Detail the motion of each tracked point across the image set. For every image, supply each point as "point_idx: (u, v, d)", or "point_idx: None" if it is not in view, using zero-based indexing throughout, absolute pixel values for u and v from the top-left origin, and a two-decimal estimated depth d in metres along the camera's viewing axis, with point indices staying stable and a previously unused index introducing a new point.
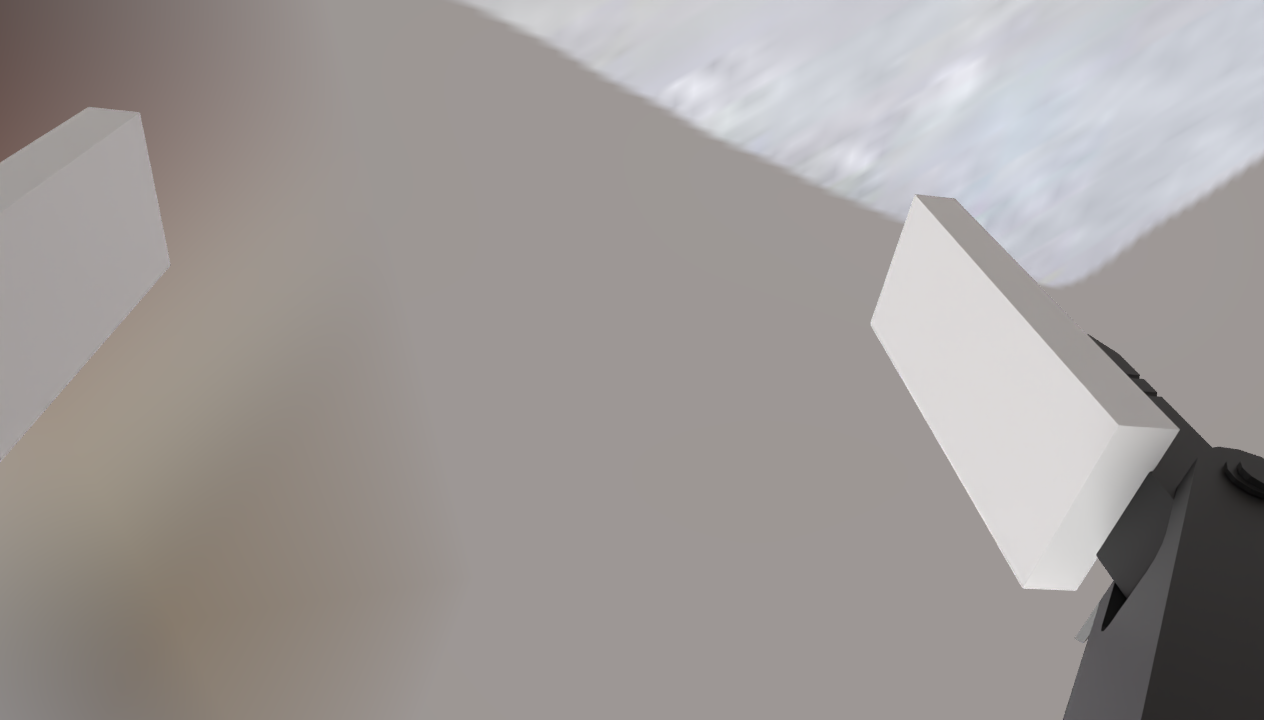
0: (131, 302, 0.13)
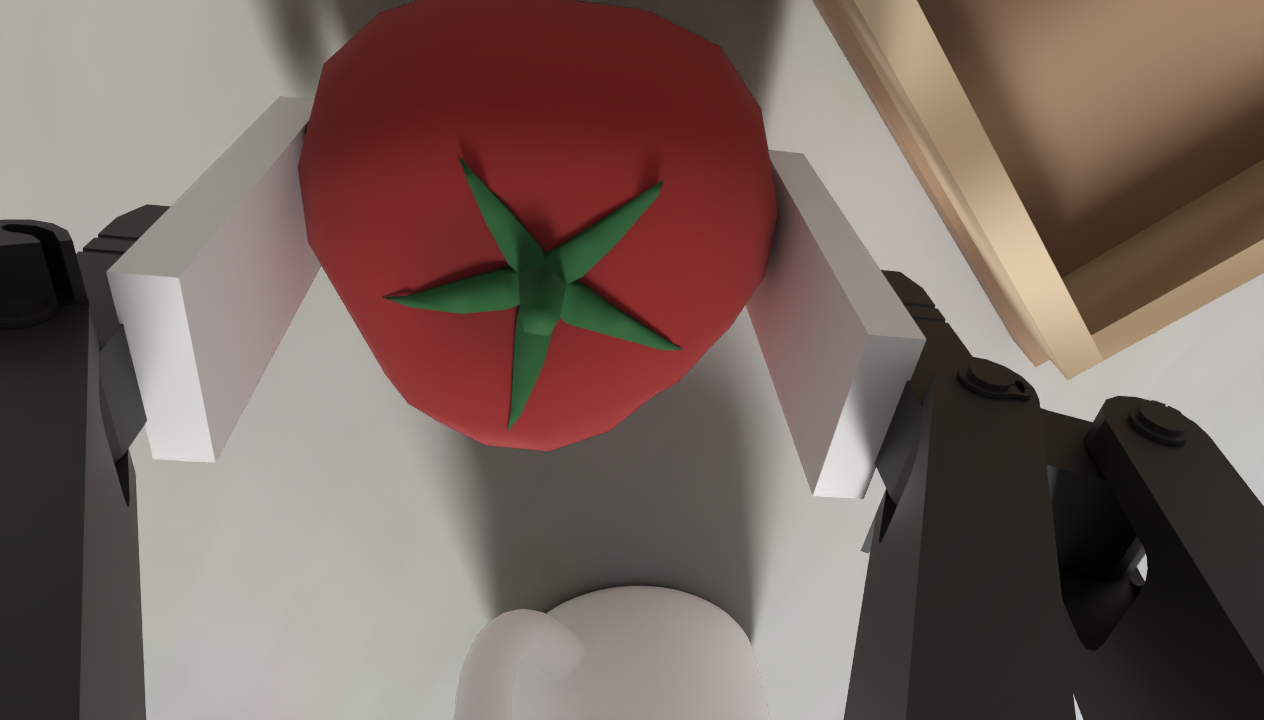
0: (314, 270, 0.15)
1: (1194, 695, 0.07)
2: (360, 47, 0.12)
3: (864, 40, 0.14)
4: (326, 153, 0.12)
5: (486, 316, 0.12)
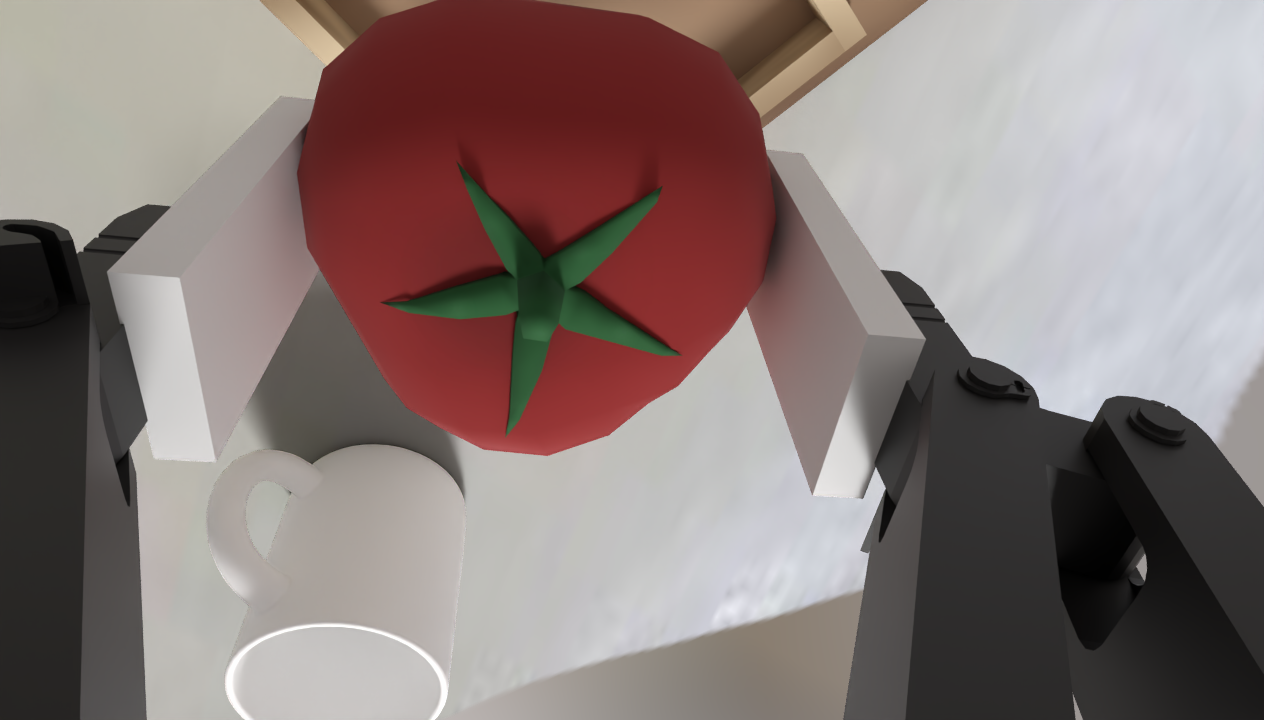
0: (315, 270, 0.15)
1: (1193, 695, 0.07)
2: (359, 53, 0.12)
3: None
4: (325, 159, 0.12)
5: (485, 322, 0.12)
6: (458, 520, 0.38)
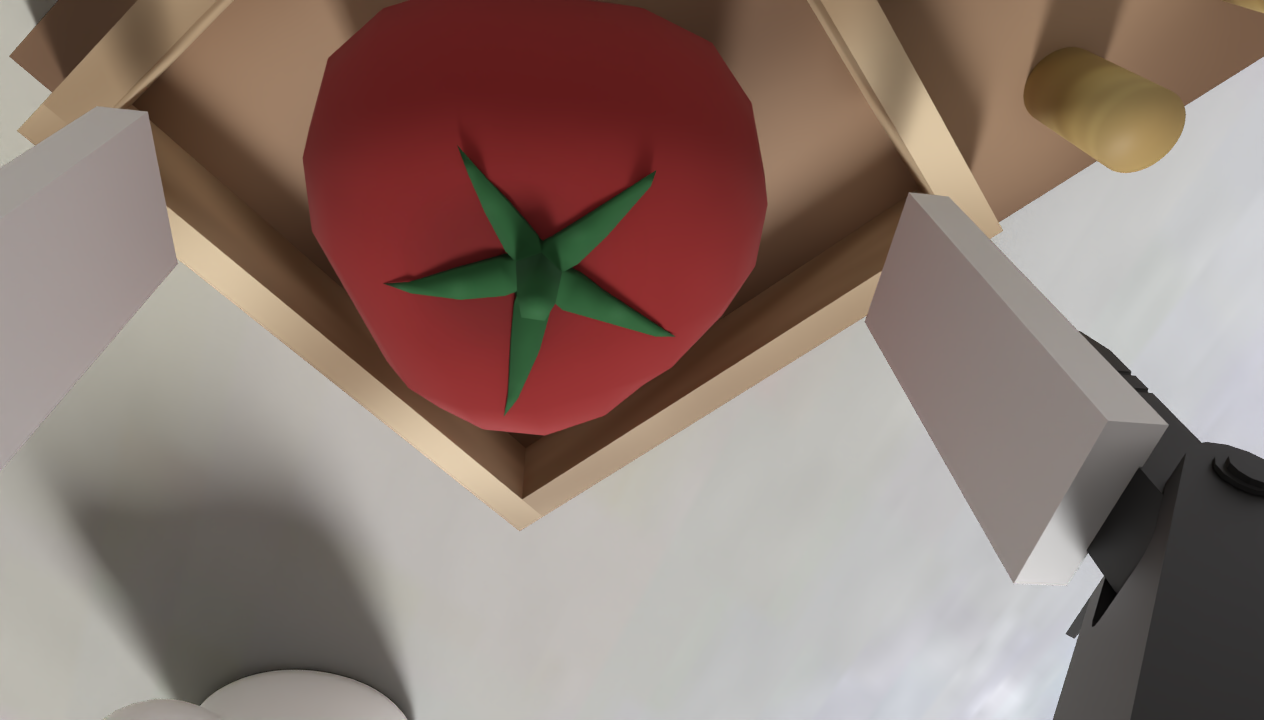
0: (139, 300, 0.13)
1: None
2: (363, 42, 0.12)
3: None
4: (330, 144, 0.12)
5: (484, 303, 0.13)
6: None
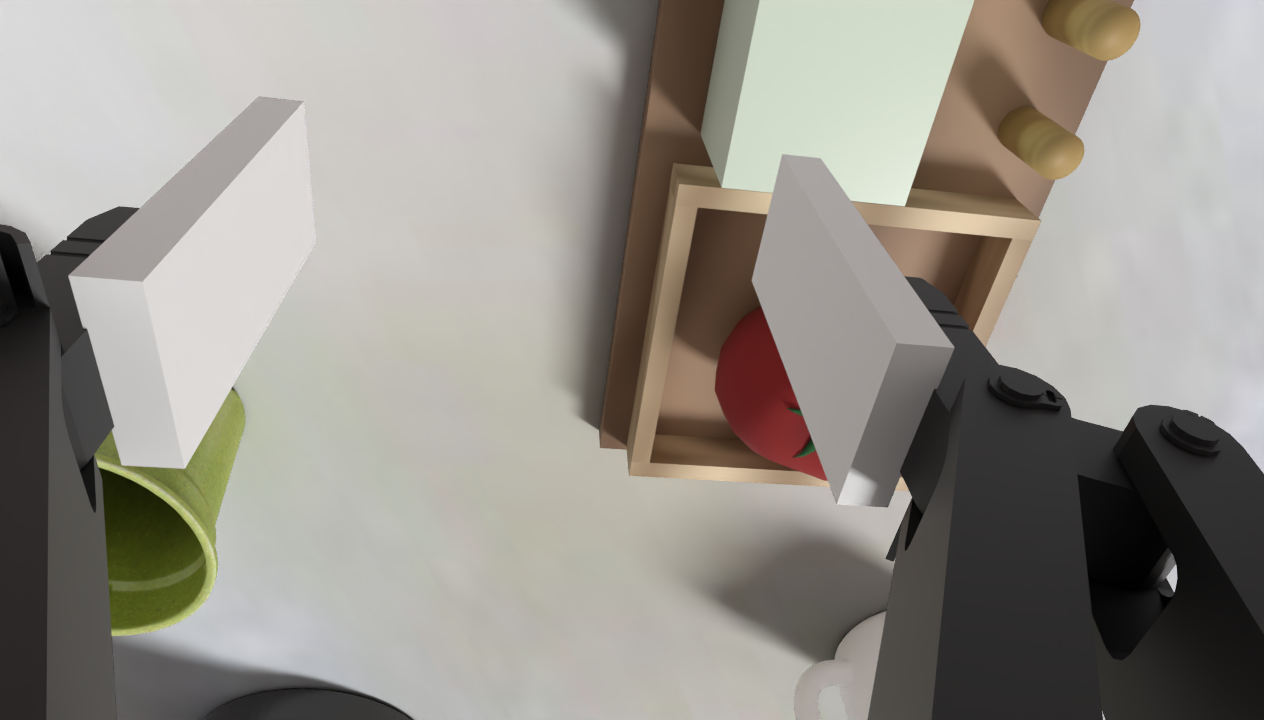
0: (294, 273, 0.14)
1: (1223, 706, 0.07)
2: (726, 384, 0.31)
3: None
4: (742, 426, 0.31)
5: None
6: None
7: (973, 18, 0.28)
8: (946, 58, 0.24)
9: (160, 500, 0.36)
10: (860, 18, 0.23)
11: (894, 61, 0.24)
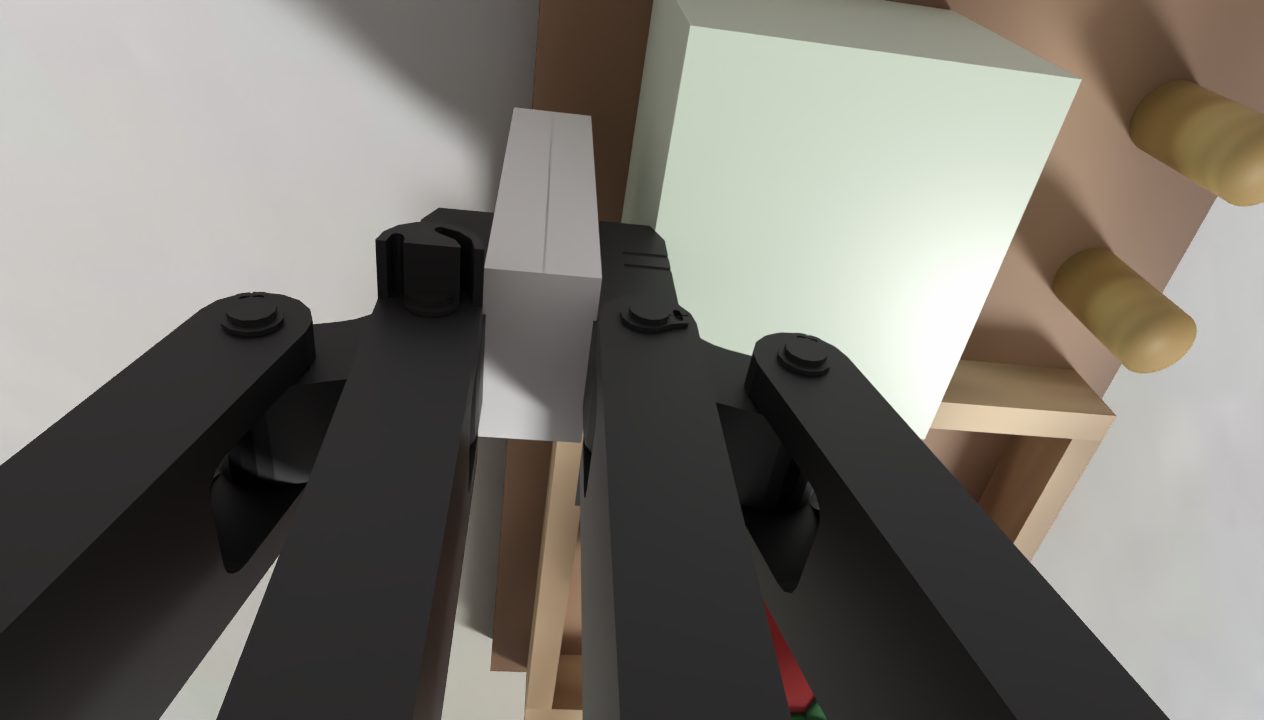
0: None
1: (878, 624, 0.07)
2: None
3: None
4: None
5: None
6: None
7: None
8: (1003, 225, 0.14)
9: None
10: (855, 163, 0.13)
11: (913, 230, 0.13)
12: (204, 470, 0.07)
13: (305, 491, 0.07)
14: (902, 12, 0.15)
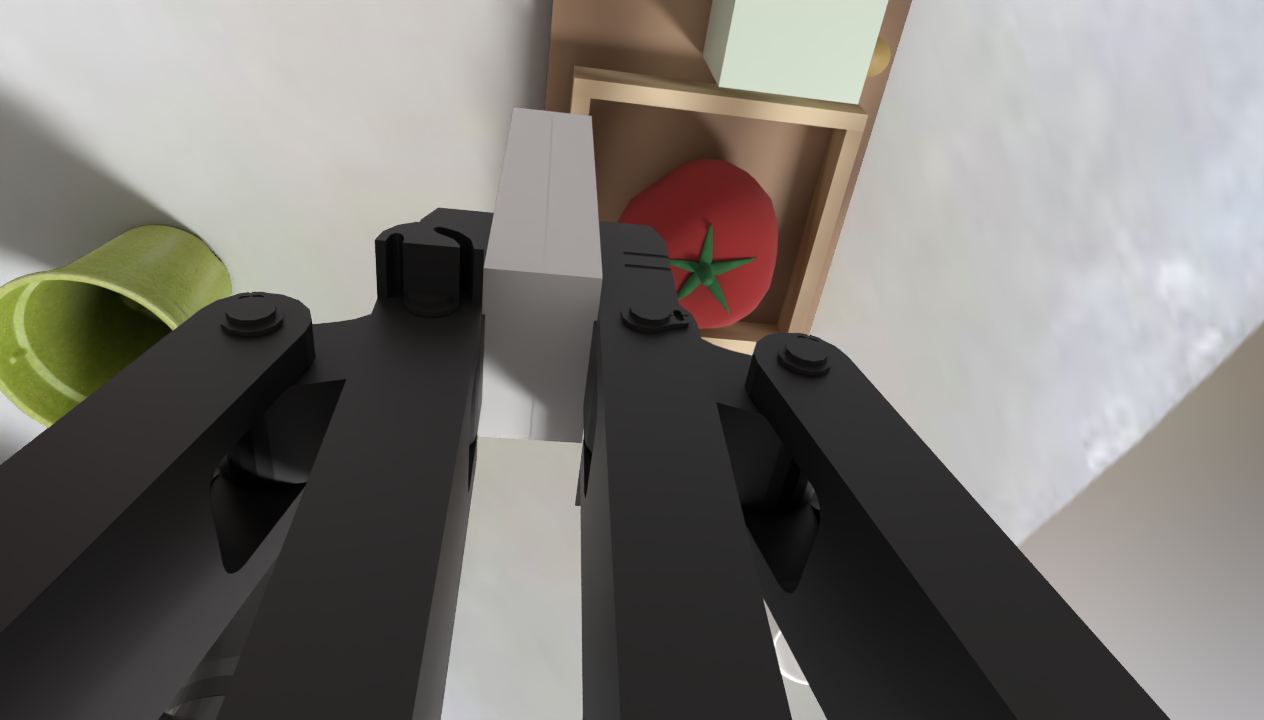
0: None
1: (879, 624, 0.07)
2: None
3: None
4: None
5: (697, 289, 0.37)
6: None
7: None
8: None
9: None
10: None
11: None
12: (205, 471, 0.07)
13: (305, 491, 0.07)
14: None
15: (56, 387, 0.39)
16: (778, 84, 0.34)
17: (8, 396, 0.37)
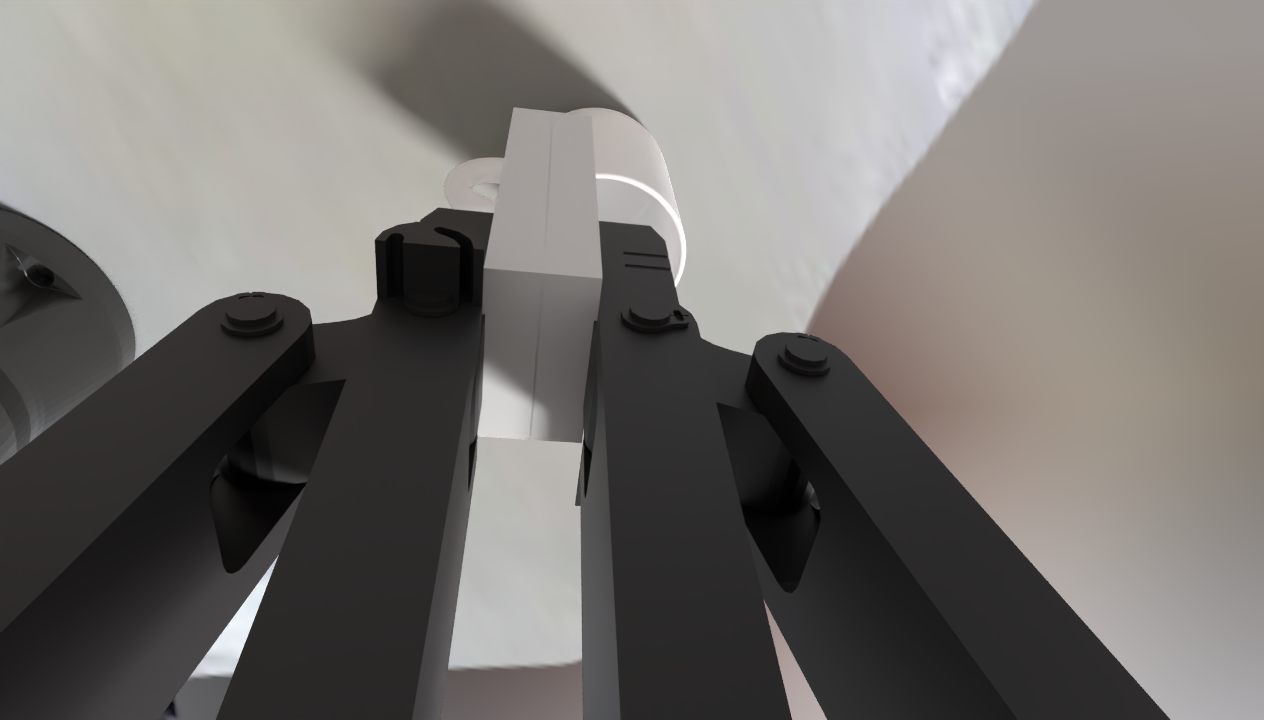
0: None
1: (878, 624, 0.07)
2: None
3: None
4: None
5: None
6: (635, 129, 0.43)
7: None
8: None
9: None
10: None
11: None
12: (204, 470, 0.07)
13: (305, 491, 0.07)
14: None
15: None
16: None
17: None
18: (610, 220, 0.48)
